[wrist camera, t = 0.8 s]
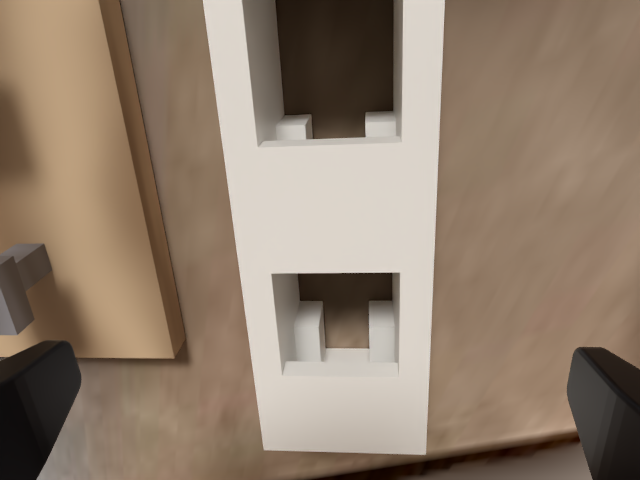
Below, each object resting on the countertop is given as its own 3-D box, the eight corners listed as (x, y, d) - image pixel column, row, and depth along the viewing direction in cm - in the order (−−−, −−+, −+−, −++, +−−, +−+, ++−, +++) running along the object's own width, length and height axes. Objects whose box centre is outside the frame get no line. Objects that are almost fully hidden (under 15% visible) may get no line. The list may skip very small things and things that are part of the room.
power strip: (237, -89, 16) (185, -131, 11) (426, -105, 15) (451, -155, 11) (284, 365, 23) (263, 450, 19) (414, 366, 23) (425, 454, 18)
